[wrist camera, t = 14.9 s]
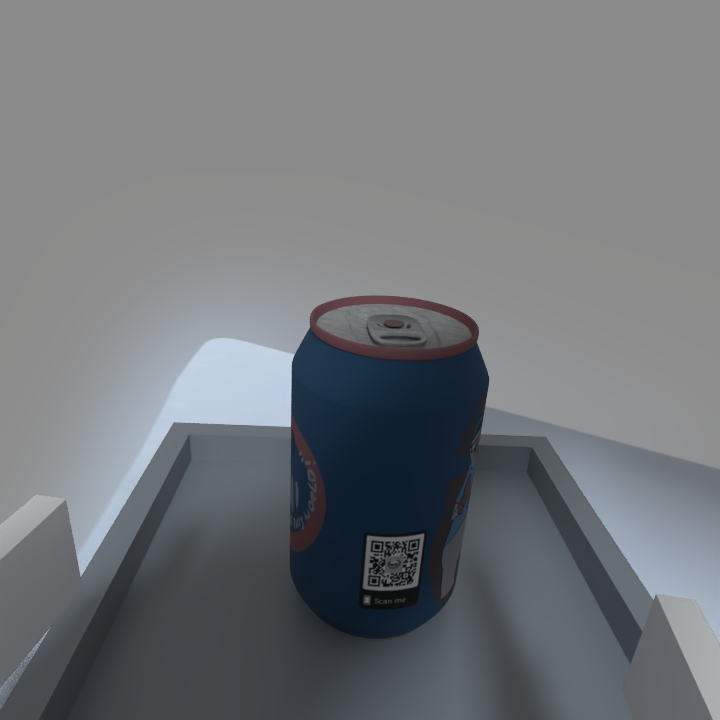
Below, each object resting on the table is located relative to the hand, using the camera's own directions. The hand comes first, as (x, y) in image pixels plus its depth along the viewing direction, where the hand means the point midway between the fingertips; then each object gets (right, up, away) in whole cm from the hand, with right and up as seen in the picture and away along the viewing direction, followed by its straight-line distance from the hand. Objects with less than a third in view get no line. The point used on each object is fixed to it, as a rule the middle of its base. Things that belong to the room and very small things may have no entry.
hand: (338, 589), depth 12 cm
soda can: (+1, -5, +11) cm, 12 cm away
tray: (+1, -5, +11) cm, 12 cm away
